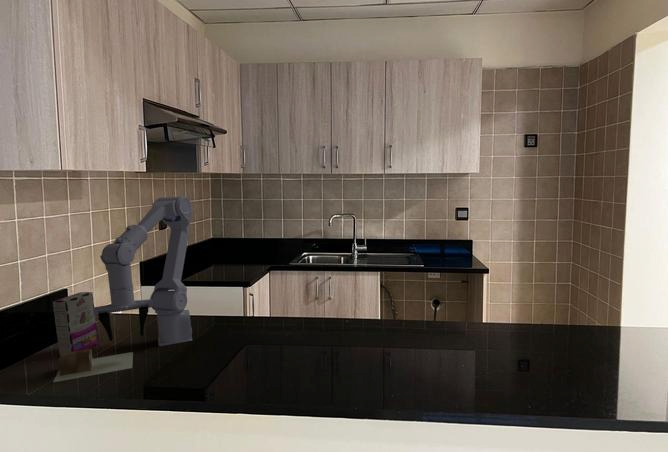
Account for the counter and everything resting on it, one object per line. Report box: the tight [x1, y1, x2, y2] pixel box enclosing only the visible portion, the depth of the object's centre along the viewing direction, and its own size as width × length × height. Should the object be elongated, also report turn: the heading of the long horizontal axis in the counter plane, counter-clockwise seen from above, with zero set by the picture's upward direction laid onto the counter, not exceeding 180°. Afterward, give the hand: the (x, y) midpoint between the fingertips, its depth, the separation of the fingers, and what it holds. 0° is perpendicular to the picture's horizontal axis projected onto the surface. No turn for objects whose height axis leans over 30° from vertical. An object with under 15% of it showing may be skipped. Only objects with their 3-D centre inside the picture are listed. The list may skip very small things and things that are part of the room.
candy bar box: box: [52, 291, 100, 356], centre depth 143 cm, size 11×5×16 cm, turn 168°
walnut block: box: [58, 348, 94, 376], centre depth 126 cm, size 4×6×7 cm
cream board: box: [52, 351, 134, 383], centre depth 128 cm, size 18×14×1 cm
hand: (126, 337), depth 131 cm, fingers open, 7 cm apart
